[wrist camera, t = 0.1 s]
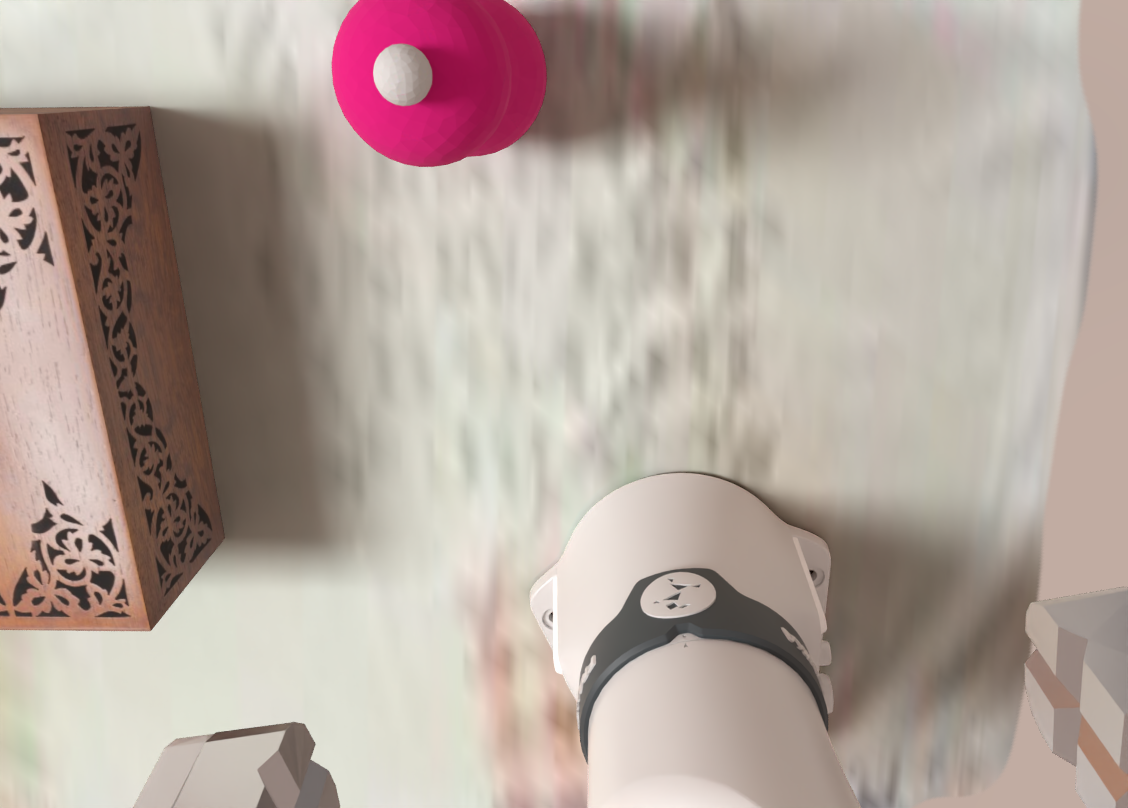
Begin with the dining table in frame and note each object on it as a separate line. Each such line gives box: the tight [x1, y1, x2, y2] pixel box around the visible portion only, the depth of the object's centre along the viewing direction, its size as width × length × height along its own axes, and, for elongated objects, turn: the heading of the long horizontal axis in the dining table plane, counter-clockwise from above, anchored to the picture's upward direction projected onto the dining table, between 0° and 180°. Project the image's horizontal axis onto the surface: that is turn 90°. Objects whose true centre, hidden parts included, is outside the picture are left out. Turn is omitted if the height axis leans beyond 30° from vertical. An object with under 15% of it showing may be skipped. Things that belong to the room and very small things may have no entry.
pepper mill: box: [332, 0, 547, 167], centre depth 35 cm, size 7×7×20 cm
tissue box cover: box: [0, 106, 225, 631], centre depth 45 cm, size 26×14×10 cm, turn 1°
